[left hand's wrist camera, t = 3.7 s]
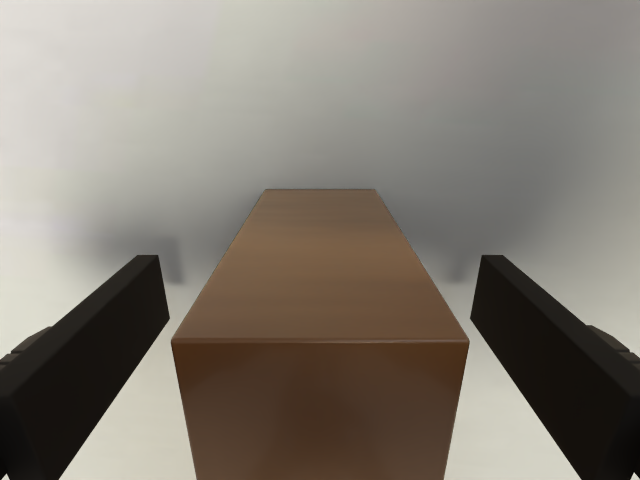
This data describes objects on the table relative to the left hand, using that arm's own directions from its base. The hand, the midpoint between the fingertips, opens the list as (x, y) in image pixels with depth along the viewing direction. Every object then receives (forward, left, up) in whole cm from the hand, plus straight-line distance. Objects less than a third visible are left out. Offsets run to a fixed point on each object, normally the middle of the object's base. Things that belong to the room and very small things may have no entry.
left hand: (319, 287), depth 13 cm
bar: (+5, +9, -2) cm, 11 cm away
